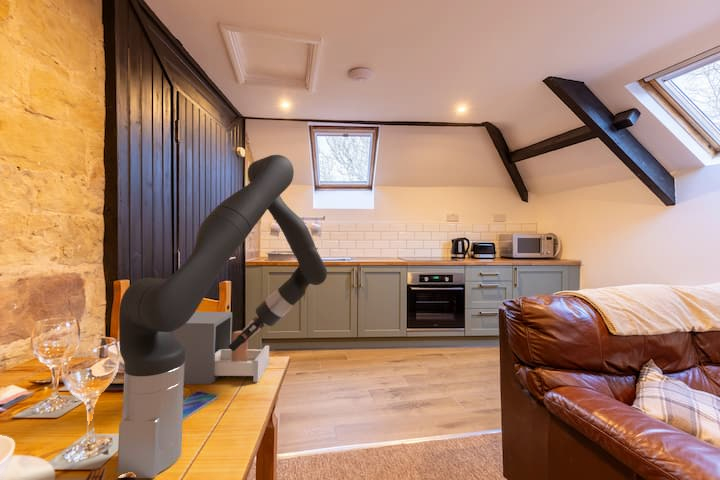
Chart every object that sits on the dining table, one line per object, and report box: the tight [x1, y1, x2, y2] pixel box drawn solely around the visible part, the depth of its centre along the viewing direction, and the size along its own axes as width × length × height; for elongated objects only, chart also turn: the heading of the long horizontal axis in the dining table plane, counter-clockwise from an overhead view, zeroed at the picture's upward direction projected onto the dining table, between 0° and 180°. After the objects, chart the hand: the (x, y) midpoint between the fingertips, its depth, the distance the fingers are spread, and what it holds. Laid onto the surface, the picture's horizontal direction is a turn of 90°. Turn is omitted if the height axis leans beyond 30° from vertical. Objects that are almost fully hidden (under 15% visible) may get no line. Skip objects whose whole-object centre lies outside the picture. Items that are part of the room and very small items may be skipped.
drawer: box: [214, 344, 270, 383], centre depth 93 cm, size 16×13×6 cm
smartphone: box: [183, 391, 219, 421], centre depth 72 cm, size 7×1×15 cm
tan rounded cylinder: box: [231, 330, 249, 362], centre depth 93 cm, size 5×5×10 cm
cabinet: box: [173, 311, 233, 385], centre depth 92 cm, size 16×14×17 cm
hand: (236, 343), depth 93 cm, fingers open, 8 cm apart
